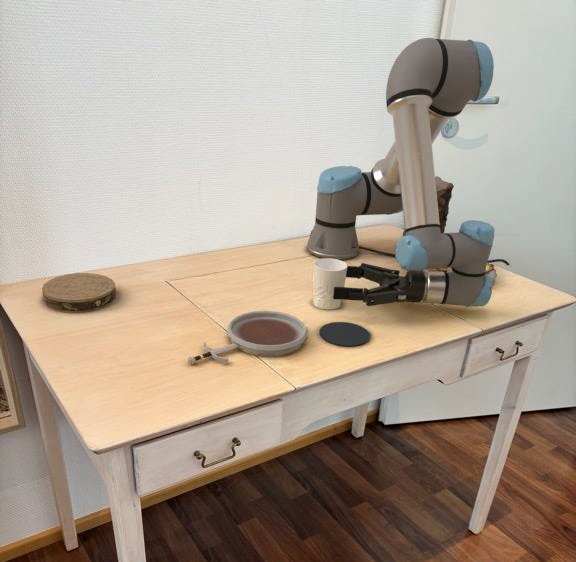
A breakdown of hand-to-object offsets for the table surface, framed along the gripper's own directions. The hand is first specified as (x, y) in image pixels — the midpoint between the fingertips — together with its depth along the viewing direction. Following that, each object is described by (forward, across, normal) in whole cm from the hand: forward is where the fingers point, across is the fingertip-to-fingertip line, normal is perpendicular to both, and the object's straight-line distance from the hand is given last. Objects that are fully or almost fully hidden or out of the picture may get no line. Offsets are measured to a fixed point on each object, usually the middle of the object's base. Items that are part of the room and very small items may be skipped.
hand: (332, 281), depth 136 cm
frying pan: (+18, -23, -6) cm, 30 cm away
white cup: (+1, 0, -6) cm, 6 cm away
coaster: (-3, -16, -6) cm, 17 cm away
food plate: (-34, +26, -6) cm, 43 cm away
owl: (-29, +48, -6) cm, 56 cm away
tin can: (+58, -6, -6) cm, 59 cm away
